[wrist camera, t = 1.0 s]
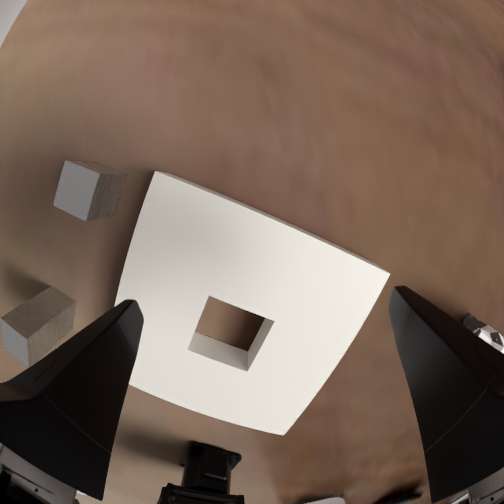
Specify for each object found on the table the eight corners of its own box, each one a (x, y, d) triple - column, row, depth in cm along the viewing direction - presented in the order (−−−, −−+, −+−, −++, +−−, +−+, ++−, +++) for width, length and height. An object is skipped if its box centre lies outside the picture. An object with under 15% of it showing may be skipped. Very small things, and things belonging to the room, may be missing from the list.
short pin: (114, 214, 21) (85, 221, 16) (84, 200, 20) (53, 205, 16) (127, 174, 20) (99, 173, 16) (95, 162, 20) (65, 160, 15)
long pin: (72, 328, 23) (29, 368, 16) (49, 313, 23) (3, 348, 15) (76, 301, 23) (26, 339, 15) (51, 286, 22) (0, 317, 14)
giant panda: (491, 343, 24) (533, 379, 15) (465, 375, 25) (503, 417, 16) (453, 284, 22) (515, 323, 13) (419, 327, 23) (473, 380, 14)
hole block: (281, 414, 25) (283, 435, 23) (115, 354, 24) (102, 370, 21) (374, 263, 22) (390, 273, 19) (168, 172, 20) (155, 171, 17)
